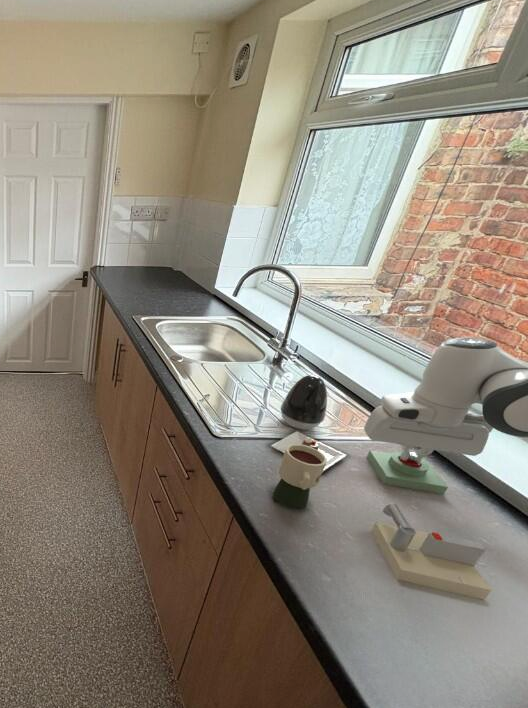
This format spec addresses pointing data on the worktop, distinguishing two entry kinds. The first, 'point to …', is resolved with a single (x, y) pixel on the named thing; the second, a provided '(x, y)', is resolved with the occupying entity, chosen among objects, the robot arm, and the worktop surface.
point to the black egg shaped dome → (305, 403)
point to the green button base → (406, 473)
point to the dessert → (302, 439)
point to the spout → (399, 528)
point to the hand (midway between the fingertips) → (409, 460)
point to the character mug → (298, 475)
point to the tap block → (429, 566)
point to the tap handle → (452, 549)
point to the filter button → (410, 463)
